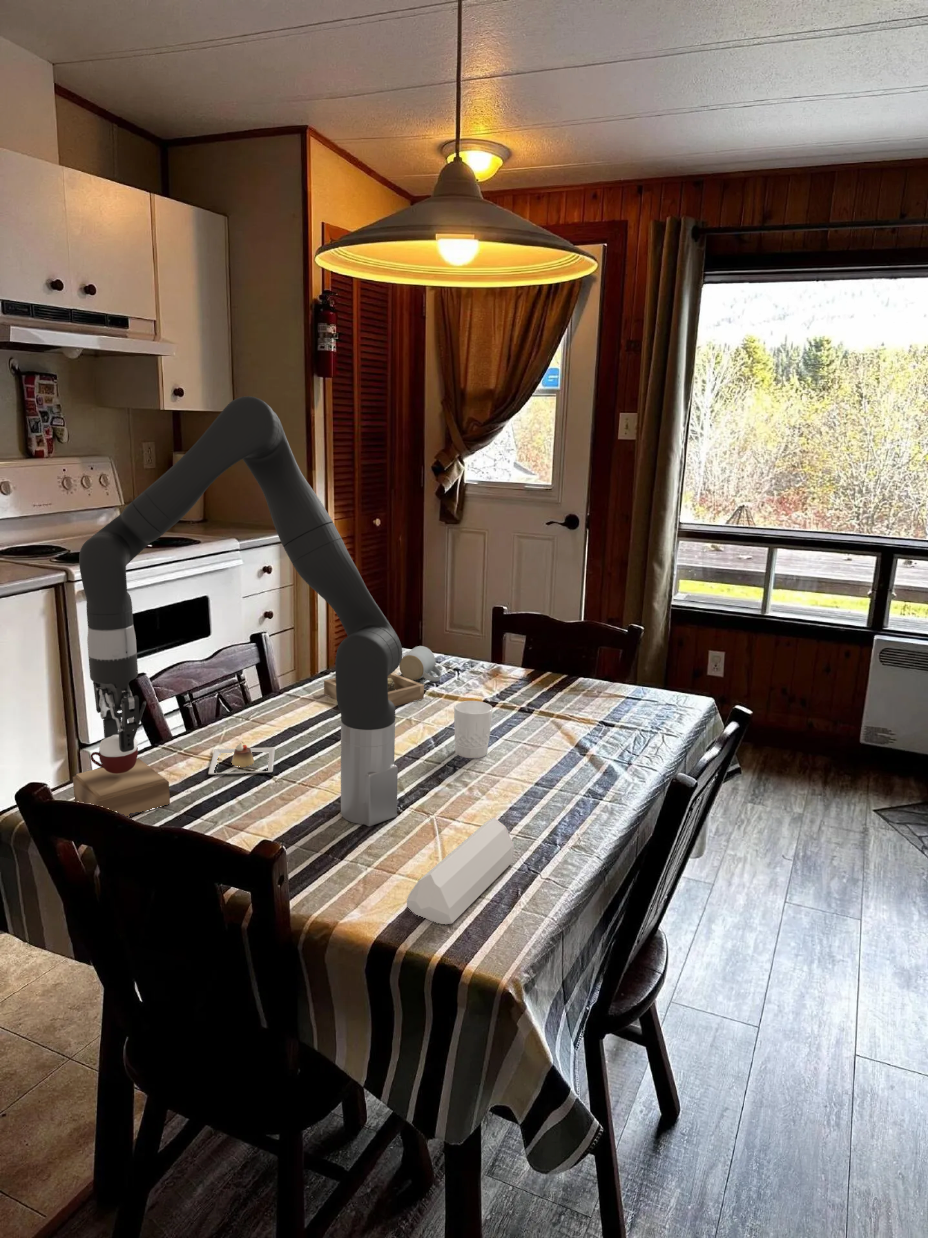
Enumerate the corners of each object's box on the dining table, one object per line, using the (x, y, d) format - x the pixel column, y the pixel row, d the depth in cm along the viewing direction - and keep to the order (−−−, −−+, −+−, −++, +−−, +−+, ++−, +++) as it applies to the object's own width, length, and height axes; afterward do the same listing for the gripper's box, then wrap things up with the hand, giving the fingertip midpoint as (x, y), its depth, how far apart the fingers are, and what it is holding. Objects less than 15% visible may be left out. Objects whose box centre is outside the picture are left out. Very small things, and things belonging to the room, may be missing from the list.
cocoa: (88, 776, 144) (78, 710, 141) (109, 760, 150) (100, 697, 147) (138, 779, 142) (129, 713, 139) (158, 763, 148) (149, 700, 145)
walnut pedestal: (170, 804, 147) (168, 778, 146) (100, 825, 139) (98, 798, 138) (141, 781, 156) (140, 756, 155) (74, 800, 148) (72, 773, 147)
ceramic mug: (397, 679, 220) (397, 651, 218) (409, 670, 228) (410, 643, 226) (434, 685, 217) (435, 657, 215) (445, 677, 224) (447, 649, 222)
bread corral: (423, 698, 206) (424, 685, 205) (366, 713, 195) (366, 699, 194) (380, 680, 218) (380, 667, 218) (324, 694, 207) (324, 680, 206)
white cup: (444, 751, 175) (446, 706, 172) (470, 742, 181) (472, 698, 178) (472, 763, 170) (474, 716, 167) (498, 753, 175) (500, 707, 173)
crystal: (456, 915, 112) (531, 839, 133) (417, 877, 114) (497, 809, 135) (431, 947, 116) (508, 869, 136) (394, 910, 118) (475, 839, 138)
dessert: (275, 752, 173) (274, 730, 172) (272, 777, 161) (272, 753, 160) (214, 754, 171) (213, 732, 169) (208, 779, 159) (207, 756, 158)
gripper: (152, 657, 138) (158, 752, 142) (118, 638, 148) (124, 727, 152) (106, 665, 133) (113, 763, 137) (74, 645, 143) (81, 737, 147)
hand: (119, 744), depth 145 cm, fingers closed on cocoa, 6 cm apart
